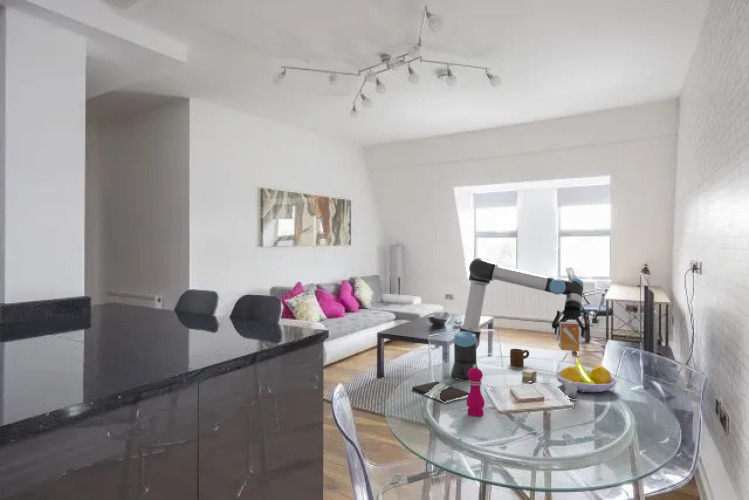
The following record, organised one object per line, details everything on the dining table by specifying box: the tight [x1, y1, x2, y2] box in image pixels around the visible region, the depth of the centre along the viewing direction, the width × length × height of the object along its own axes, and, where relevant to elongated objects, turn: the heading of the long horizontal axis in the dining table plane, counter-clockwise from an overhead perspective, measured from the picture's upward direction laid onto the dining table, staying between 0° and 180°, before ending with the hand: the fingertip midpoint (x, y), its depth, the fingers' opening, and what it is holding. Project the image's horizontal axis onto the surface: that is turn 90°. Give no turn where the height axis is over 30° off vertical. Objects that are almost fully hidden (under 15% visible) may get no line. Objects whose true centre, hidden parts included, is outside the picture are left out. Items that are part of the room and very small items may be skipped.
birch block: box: [521, 368, 538, 382], centre depth 217 cm, size 5×5×5 cm
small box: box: [558, 321, 580, 352], centre depth 203 cm, size 8×6×13 cm
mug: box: [509, 348, 530, 368], centre depth 248 cm, size 12×8×9 cm, turn 103°
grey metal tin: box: [564, 381, 578, 400], centre depth 188 cm, size 5×5×7 cm
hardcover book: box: [411, 381, 470, 402], centre depth 196 cm, size 16×23×2 cm
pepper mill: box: [465, 364, 485, 417], centre depth 170 cm, size 7×7×20 cm
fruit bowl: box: [554, 358, 618, 393], centre depth 204 cm, size 28×27×11 cm
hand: (568, 340), depth 200 cm, fingers closed on small box, 9 cm apart
